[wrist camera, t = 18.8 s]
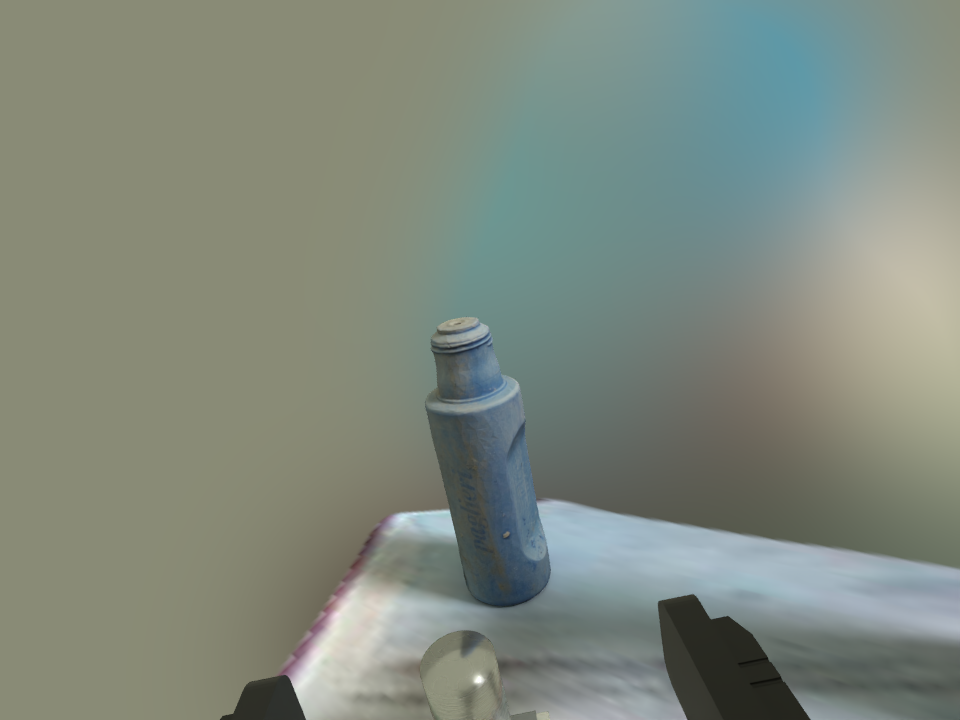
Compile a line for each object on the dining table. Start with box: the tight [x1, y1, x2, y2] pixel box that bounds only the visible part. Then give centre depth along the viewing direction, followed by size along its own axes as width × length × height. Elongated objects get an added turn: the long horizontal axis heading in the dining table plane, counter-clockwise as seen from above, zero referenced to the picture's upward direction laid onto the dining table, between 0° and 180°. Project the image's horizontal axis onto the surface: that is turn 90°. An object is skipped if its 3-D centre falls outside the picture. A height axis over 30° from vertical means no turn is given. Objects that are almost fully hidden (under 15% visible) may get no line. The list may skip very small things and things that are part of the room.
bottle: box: [425, 317, 551, 606], centre depth 56 cm, size 10×10×30 cm
